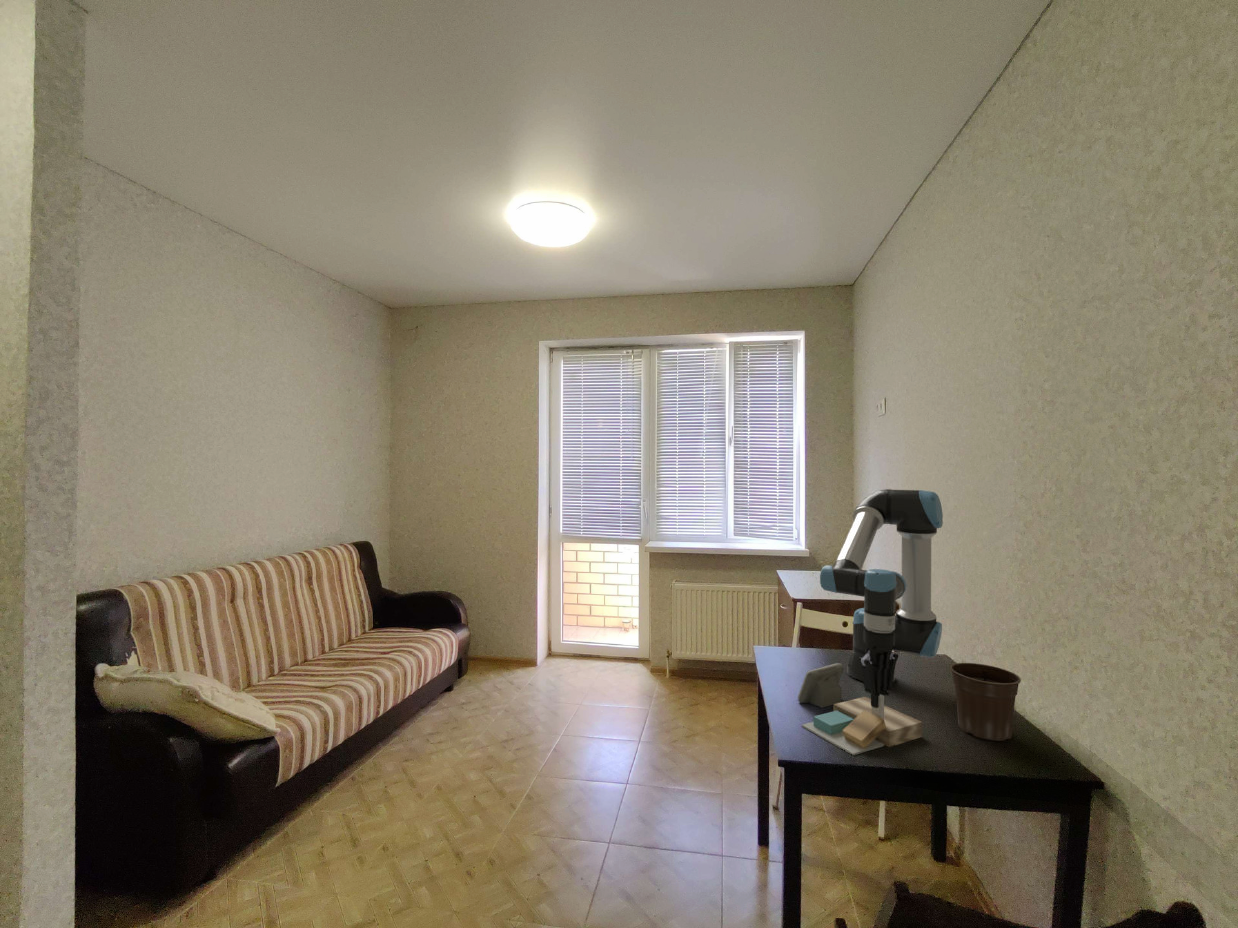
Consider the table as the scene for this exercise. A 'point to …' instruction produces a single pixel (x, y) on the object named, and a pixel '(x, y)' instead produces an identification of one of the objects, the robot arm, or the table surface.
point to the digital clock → (822, 686)
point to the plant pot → (985, 700)
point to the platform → (896, 722)
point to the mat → (842, 740)
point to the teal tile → (832, 722)
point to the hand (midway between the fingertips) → (877, 718)
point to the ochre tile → (864, 729)
